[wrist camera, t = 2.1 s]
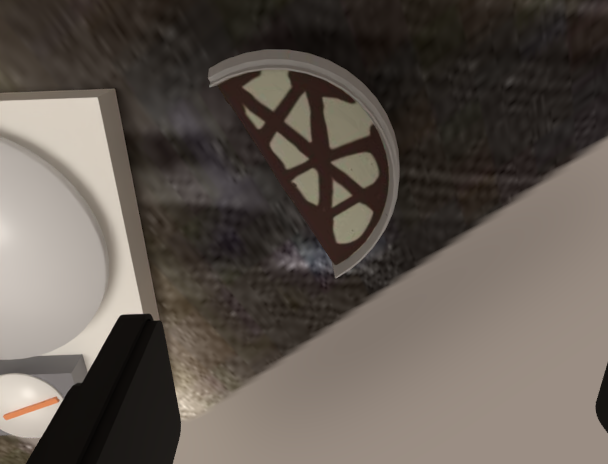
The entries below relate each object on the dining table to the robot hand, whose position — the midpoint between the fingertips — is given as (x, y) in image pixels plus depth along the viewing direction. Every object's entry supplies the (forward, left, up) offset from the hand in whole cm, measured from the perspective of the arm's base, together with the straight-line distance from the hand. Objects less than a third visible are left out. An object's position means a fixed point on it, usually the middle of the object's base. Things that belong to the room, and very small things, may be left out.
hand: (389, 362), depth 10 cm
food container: (0, 0, -24) cm, 24 cm away
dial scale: (+10, -22, -24) cm, 34 cm away
